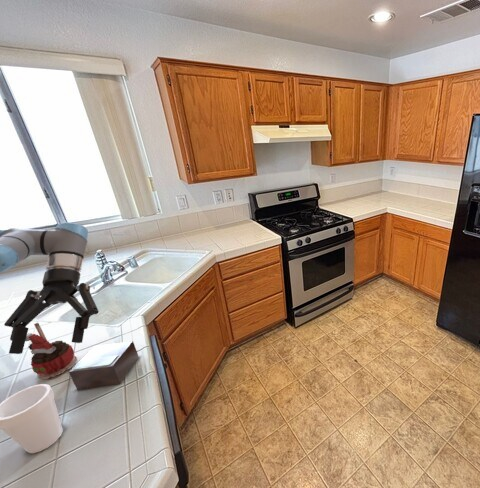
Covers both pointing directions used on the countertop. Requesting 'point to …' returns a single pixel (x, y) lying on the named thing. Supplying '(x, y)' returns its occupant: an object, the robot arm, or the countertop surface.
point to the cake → (49, 355)
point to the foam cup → (31, 418)
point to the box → (104, 365)
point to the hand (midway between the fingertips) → (46, 347)
